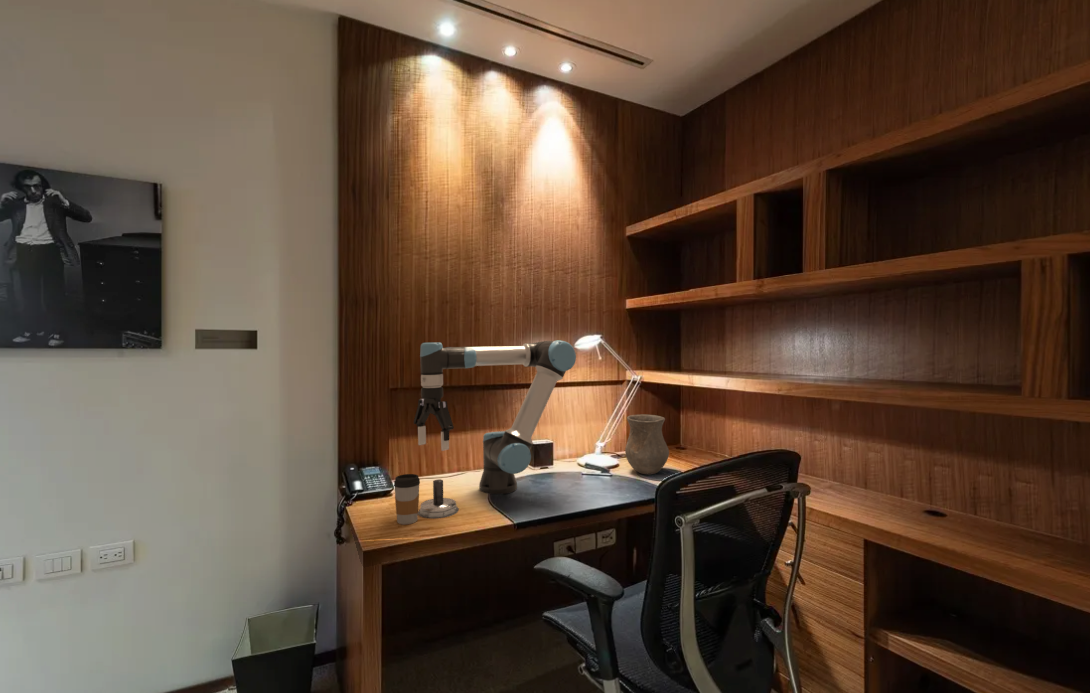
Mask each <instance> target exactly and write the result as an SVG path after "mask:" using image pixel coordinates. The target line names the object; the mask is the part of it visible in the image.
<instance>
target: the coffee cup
mask: <svg viewBox="0 0 1090 693" xmlns="http://www.w3.org/2000/svg"><path fill="white" fill-rule="evenodd" d="M420 480H421V479H420V478H419V475H418V474H415V473H407V474H406V473H404V474H400V475H398V476H396V477H395V480H394V481H393V482H394V483H393V486H394V500H395V502H394V504H395V512H396V522H397V524H399V525H411V524H413V523H416V522H418V520H419V519H418V517H419V515H418V511H419V504H420V502H419V501H420V499H419V498H420V484H421V482H420Z"/></svg>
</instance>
